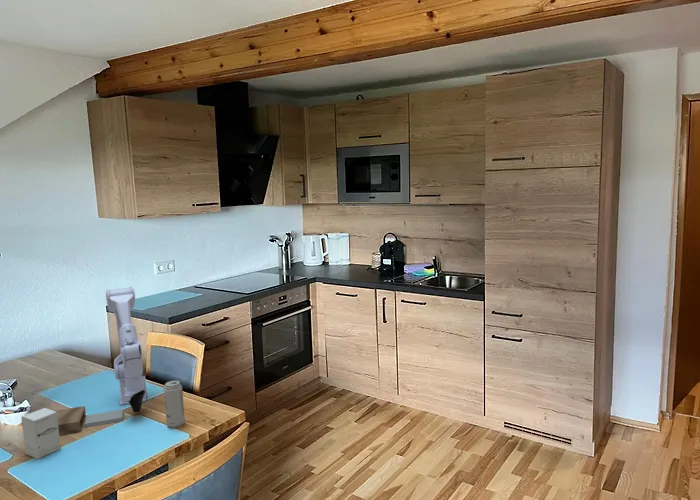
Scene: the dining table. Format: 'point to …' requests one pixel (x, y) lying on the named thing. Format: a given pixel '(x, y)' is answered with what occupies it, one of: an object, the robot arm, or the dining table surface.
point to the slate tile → (104, 418)
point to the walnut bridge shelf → (70, 420)
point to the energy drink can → (174, 404)
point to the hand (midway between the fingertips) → (137, 411)
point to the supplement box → (41, 432)
